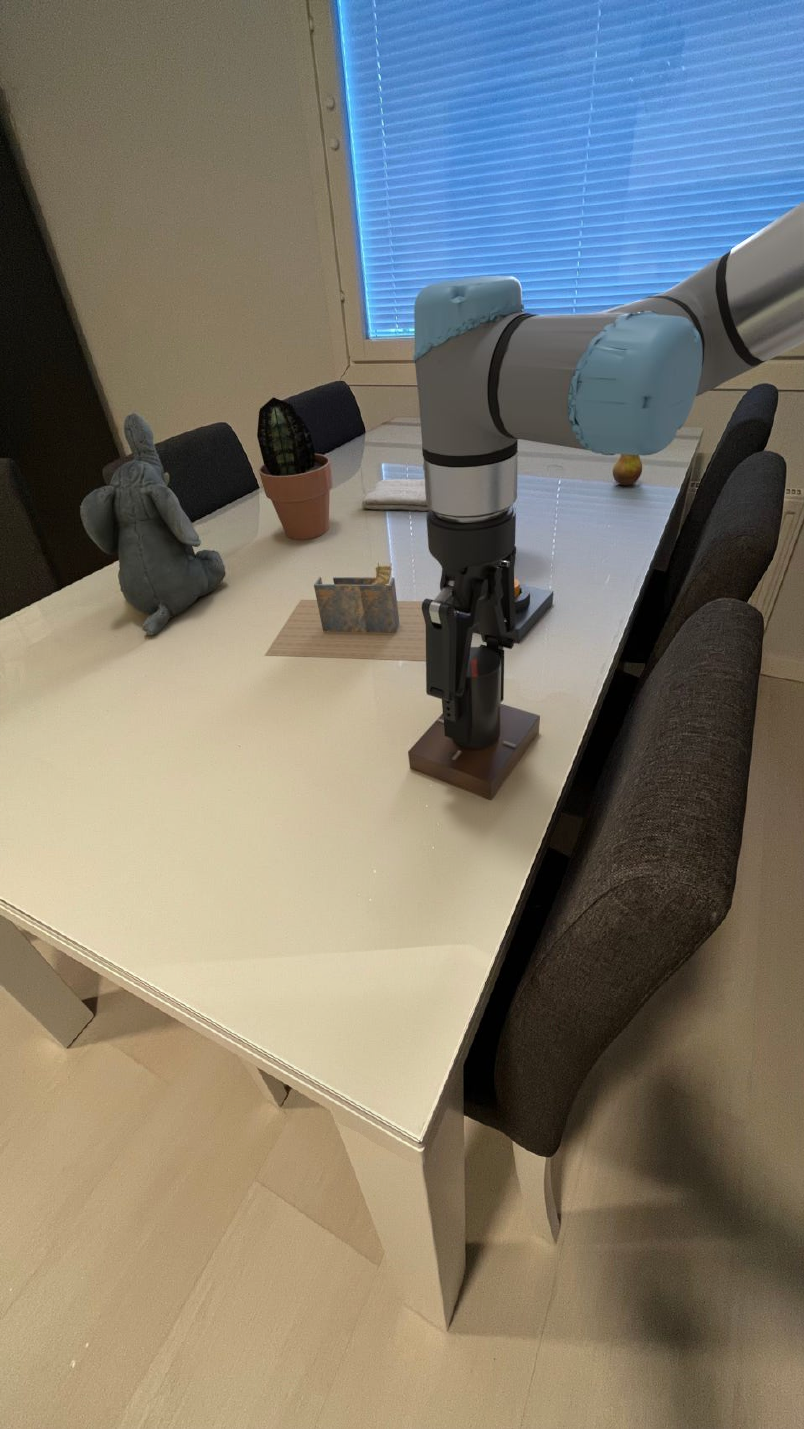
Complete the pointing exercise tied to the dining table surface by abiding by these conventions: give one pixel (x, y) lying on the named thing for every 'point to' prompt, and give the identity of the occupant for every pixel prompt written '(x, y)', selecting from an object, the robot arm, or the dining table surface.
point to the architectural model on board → (355, 622)
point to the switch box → (527, 610)
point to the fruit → (627, 469)
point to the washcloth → (397, 495)
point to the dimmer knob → (483, 697)
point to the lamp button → (516, 587)
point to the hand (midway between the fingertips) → (474, 716)
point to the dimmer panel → (476, 753)
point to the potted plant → (293, 471)
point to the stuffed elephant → (150, 534)
